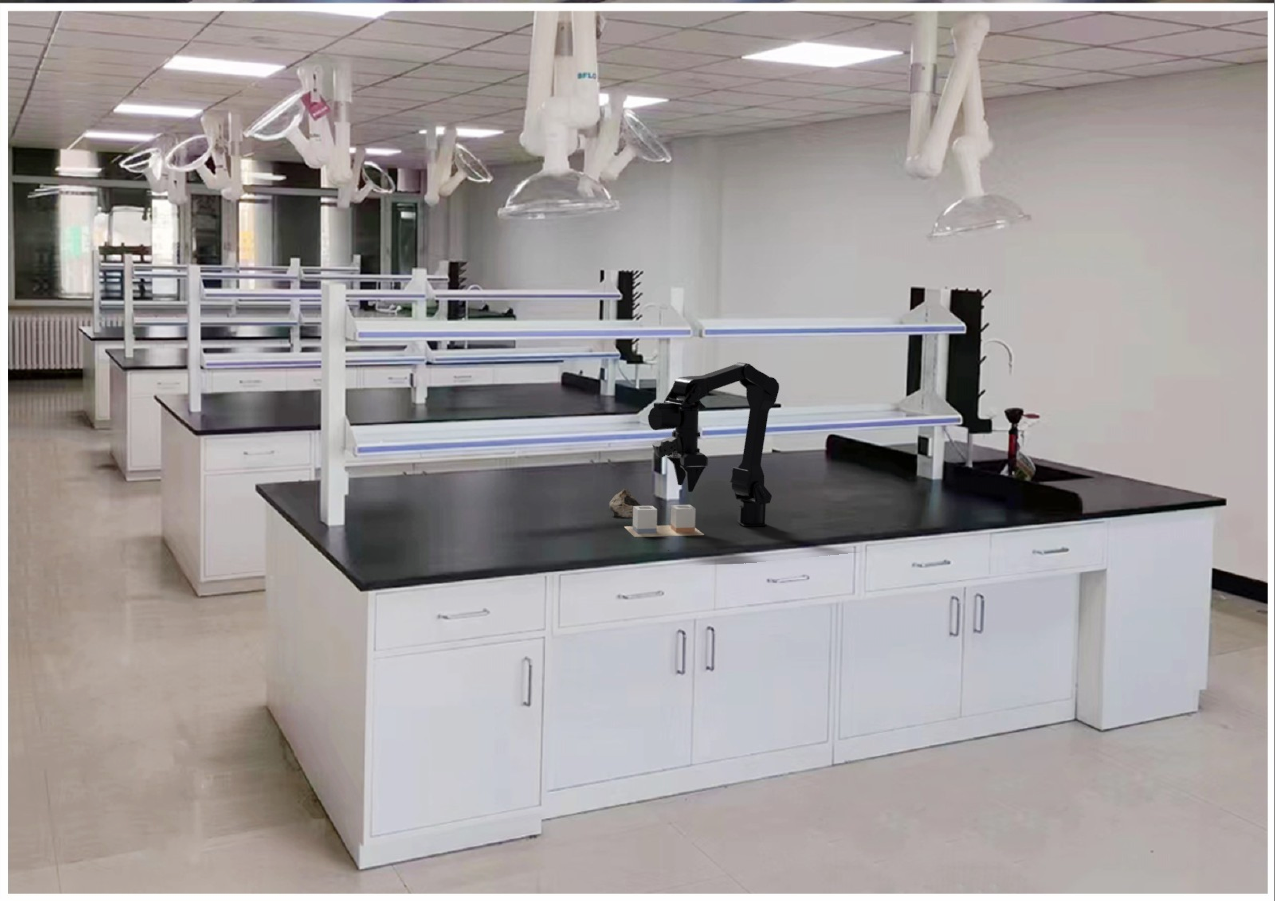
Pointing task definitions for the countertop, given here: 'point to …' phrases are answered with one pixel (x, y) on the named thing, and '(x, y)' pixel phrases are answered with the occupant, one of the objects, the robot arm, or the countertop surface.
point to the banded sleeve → (683, 518)
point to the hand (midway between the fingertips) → (685, 488)
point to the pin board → (663, 532)
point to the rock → (623, 504)
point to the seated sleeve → (644, 519)
